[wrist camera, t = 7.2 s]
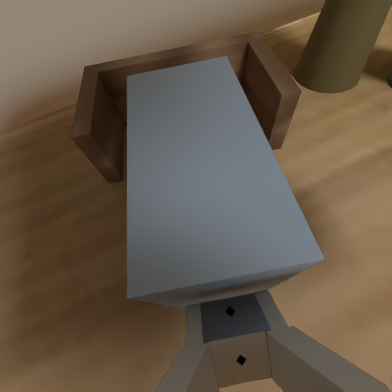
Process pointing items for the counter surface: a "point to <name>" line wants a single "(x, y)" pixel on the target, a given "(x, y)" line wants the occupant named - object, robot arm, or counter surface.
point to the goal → (119, 69)
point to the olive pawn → (341, 44)
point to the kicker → (205, 192)
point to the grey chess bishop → (390, 79)
